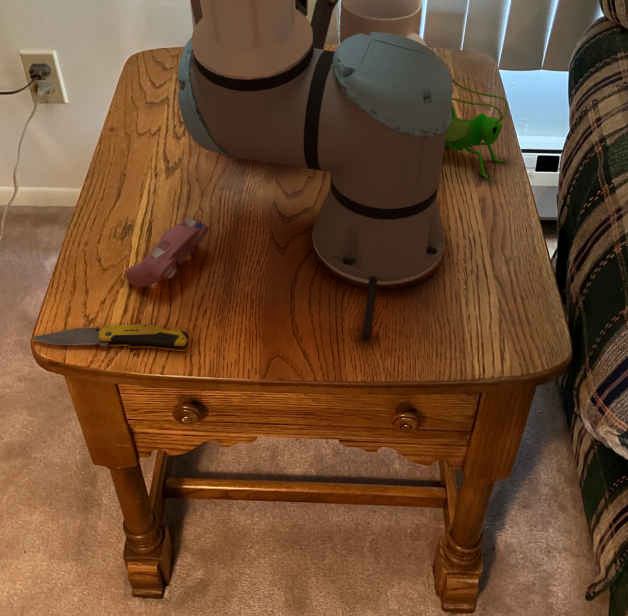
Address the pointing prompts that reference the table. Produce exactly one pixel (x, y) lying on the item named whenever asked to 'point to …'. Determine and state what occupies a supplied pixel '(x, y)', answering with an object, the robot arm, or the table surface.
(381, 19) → the mug
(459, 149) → the toy
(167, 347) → the utility knife
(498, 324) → the table surface
